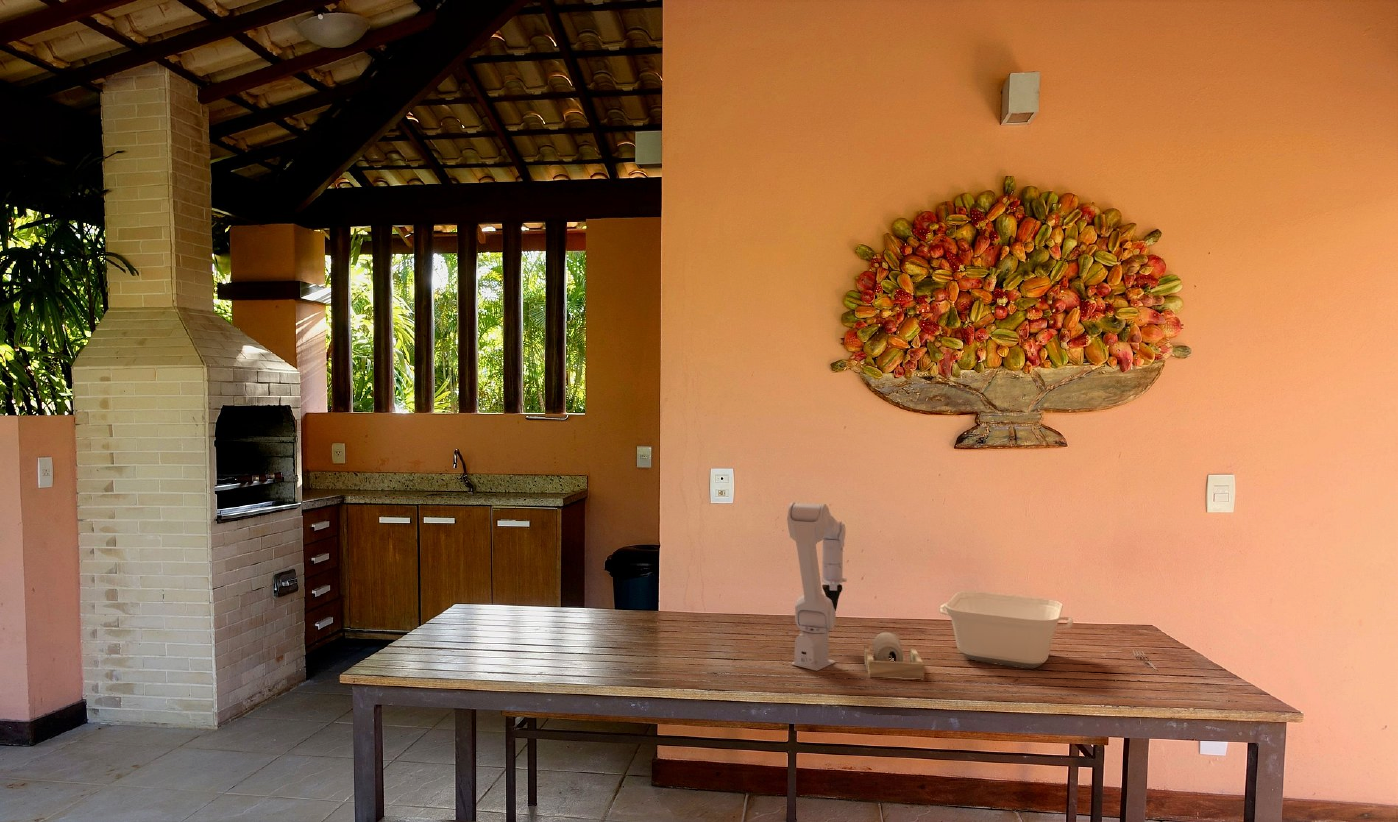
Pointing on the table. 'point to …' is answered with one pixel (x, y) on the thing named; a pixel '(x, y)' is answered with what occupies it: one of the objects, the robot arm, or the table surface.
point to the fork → (1144, 654)
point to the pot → (1004, 627)
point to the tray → (894, 666)
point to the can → (887, 647)
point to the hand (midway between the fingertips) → (832, 610)
